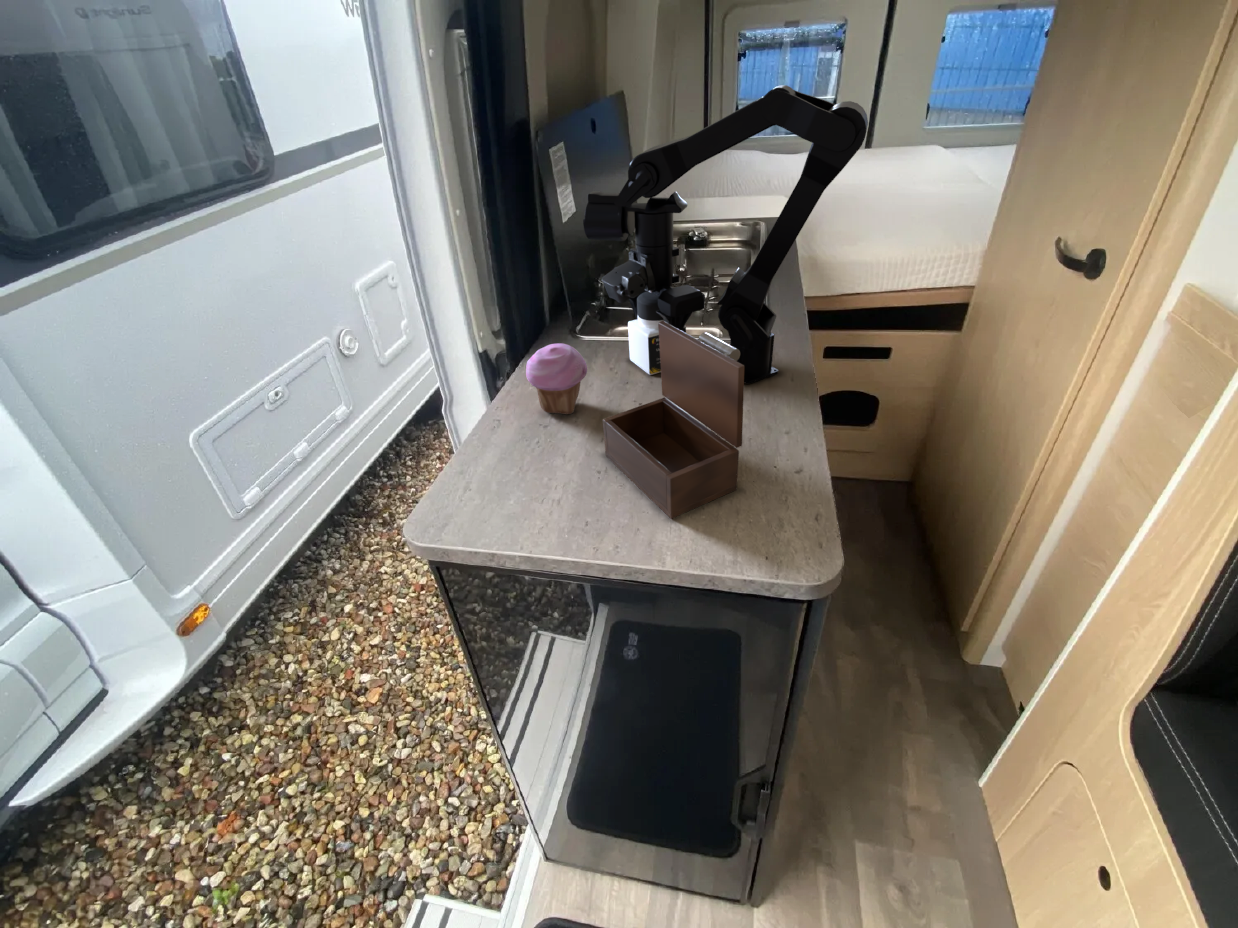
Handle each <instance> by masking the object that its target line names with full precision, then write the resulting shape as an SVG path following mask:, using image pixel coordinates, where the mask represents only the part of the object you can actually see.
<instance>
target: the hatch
mask: <svg viewBox="0 0 1238 928" xmlns="http://www.w3.org/2000/svg"><path fill="white" fill-rule="evenodd" d="M658 329H659V346H660V363H661V372H660V376H661V377H660V379H661V394H662V396H663V397H665V398H666V399H667V400H669V401H670V402H672V403H673V404H675V405H676V406H677V407H679V408H680V409H682V410H683V411H684V412H686V413H687V414H688V415H690V416H691V417H693V418H694V419H695V420H697V421H698V422H700V423H701V424H702V425H704V426H705V427H707V428H708V429H709V430H711V431H712V432H714V433H715V434H716V435H718V436H719V437H721V438H722V439H723V440H725V441H726V442H728V443H729V444H730V445H732V446H733V447H734V448H736V449H738V448H740V447H743V425H744V421H743V420H744V419H743V418H744V397H745V396H744V395H745V394H744V393H745V392H744V391H745V383H744V365H742V364H740V363H739V362H737V360H738V359H739V357H740V351H739V350H738V349H736V348H734V347H733V346H731V345H730V343H729V344H728V343H727V342H725V341H724V340H722V339H719V338H718V337H715V336H714V335H712V334H710V333H708V332H702V333H701V334H700V335H699V337H698V338H696V337H694V336H692V335H690V334H688V333H687V332H686V333H684V332H683V331H681V330H679V329H677V328H675V327H674V326H672V325H670V324H668V323H666V322H665V321H661V322H658Z"/></svg>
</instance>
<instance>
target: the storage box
mask: <svg viewBox="0 0 1238 928" xmlns="http://www.w3.org/2000/svg"><path fill="white" fill-rule="evenodd" d="M602 429H603V441H604V451H605V457H606V458H607V459H608V460H609V461H610V462H612V464H614V466H616V467H617V469H619V471H621V472H622V473H623V474H624V475H625V476H626V477H627V478H628V479H629V480H630V481H631V482H632V483H633V484H634V485H635V486H637V488H638V489H640V490H641V492H642V493H644V494H645V495H646V496H647V498H649V499H650V500H651V501H652V502H653V503H654V504H655V505H656V506H657V507H658V508H659V509H660V510H662V512H663V513H665V515H666V516H667V517H668V518H670V519H674V518H677V517H679V516H681V515H683V514H685V513H687V512H690V511H692V510H695V509H697V508H699V507H701V506H703V505H705V504H708V503H710V502H712V501H714V500H717V499H719V498H722V497H724V496H726V495H728V494H730V493H732V492H736V491H737V489H738V473H739V457H740V450H739V449H738V448H736V447H735V446H733V445H732V444H730V443H729V442H728V441H726V440H725V439H723V438H722V437H721V436H719V435H718V434H716V433H715V432H714V431H712V430H711V429H709V428H708V427H707V426H705V425H704V424H702V423H701V422H700V421H698V420H697V419H695V418H694V417H693V416H691V415H690V414H688V413H687V412H686V411H684V410H683V409H681V408H680V407H679V406H677V405H676V404H674V403H673V402H672V401H670V400H669V399H667V398H666V397H665V396H663V397H662V398H659V399H656V400H653V401H650V402H647V403H644V404H642V405H639V406H635V407H633V408H629V409H627V410H624V411H622V412H619V413H616V414H614V415H613V414H612V415H610V416H608V417H605V418H602Z"/></svg>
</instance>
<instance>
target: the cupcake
mask: <svg viewBox="0 0 1238 928" xmlns="http://www.w3.org/2000/svg"><path fill="white" fill-rule="evenodd" d="M525 366H526V367H525V376H526V379H527V381H528V382H529V384H531V386H532V387H534V388H535V389H536V392H537V397H538V401H539V402H538V403H539V405H540V408H541V410H543V412H545V413H549V414H563V415H572V414H573V413H574V412H575V407H576V403H577V400H578V397H579V394H580V389H581V381H582V380H584V378H586V376H587V374H588V366H587V362H586V360H585V359H584V357H583V355H582V354H581V353H580V352H579V351H578V350H577V349H576V348H575V347H573V346H572V345H569V344H567V343H560V342H559V343H551V344H548V345H545V346H544V347H542V348H539V349H538V350H536V351H535V352H534V354H532V355H531V357H530V358H529V359H528V360H527V362H526V365H525Z"/></svg>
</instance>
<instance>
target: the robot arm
mask: <svg viewBox="0 0 1238 928" xmlns="http://www.w3.org/2000/svg"><path fill="white" fill-rule="evenodd" d="M774 126H776V127H777V126H778V127H780V128H782V129H784V130H786V131H788V132H789V133H790V134H791V133H792V134H793V135H795V136H797V137H799V138H801V139H802V140H805V141H807V142H809V143H811V145H810V148H809V150H808V153H807V156H806V159H805V162H804V165H803V168H802V172H801V174H800V177H799V178H798V181H797V183H796V185H795V186H794V187H793V189H792V192H791V194H790V195H789V197H788V199H787V201H786V203H785V204H784V206H783V208H782V210H781V212H780V213H779V216H778V217H777V219H776V221H775V223H774V224H773V226H772V228H771V230H770V232H769V234H768V235H767V236H766V239H765V241H764V243H763V244H762V246H761V248H760V249H759V252H758V253H757V255H756V257H755V259H754V261H753V263H752V264H751V265H750V266H749V267H748V268H747V269H746V271H744V270H743V269H742V268H740V267H737V268H736V270H735V271H734V273H733V275H732V276H731V278H730V280H729V282H728V284H727V287H726V288H725V290H724V291H723V293H722V295H721V296H720V298H719V300H718V301H717V303H716V305H718V306H720V307H719V309H718V313H717V318H718V320H719V323H720V325H721V326H722V327H723V329H724V330H726V331H727V334H728V336H729V342H730V343H729V345H731V346H733V347H734V348H736V349H738V350H739V351H740V357H739V359H738V360H737V362H739V363H740V364H742V365H744V384H746V385H750V384H753V383H756V382H758V381H761V380H764V379H766V378H770V377H772V376H775V375H778V374H779V369H778V368H775V367H774V366H773V355H774V344H775V333H773V332H772V329H773V327H774V324H775V321H776V319H777V314H776V313H775V312H774V311H773V310H772V309H771V307H769V306H768V305H767V303H766V299H767V297H768V293H769V291H770V288H771V285H772V282H773V279H774V278H775V275H776V274H777V272H778V270H779V268H780V267H781V265H782V263H784V261H785V258H786V256H787V255H788V253H789V252H790V250H791V248H792V247H793V244H794V243H795V242H796V239H797V238H798V236H799V234H800V233H801V231H802V230H803V227H804V226H805V224H806V222H807V221H808V219H809V218H810V215H811V214H812V212H813V211H814V209H815V207H816V205H817V203H818V202H819V200H820V199H821V197H822V195H823V193H824V191H825V190H826V189H827V188H828V187H829V185H831V184H832V182H833V181H834V180H835V179H836V178H837V177H838V176H839V174H840V173H841V172H842V171H843V170H844V169H845V168H846V166H847V165H848V163H849V162H850V161H851V160H852V158H854V156H855V155H856V154H857V153H858V151H859V150H860V149H861V147H862V146H863V143H864V141H865V138H866V136H867V131H868V126H869V119H868V114H867V112H866V110H865V109H864V107H863V106H861V104H859V103H857V102H854V101H851V100H848V101H847V100H845V101H841V102H839V103H834V102H830V101H828V100H825V99H822V98H820V97H817V96H813V95H810V94H806V93H804V92H801V91H799V90H795V89H793V88H792V87H791V86H789V85H787V84H780V85H777V86H775V87H773V88H771V89H770V90H769V91H767V93H765V95H762V96H760V97H759V98H757V99H756V100H754V101H752V102H750V103H747V104H745V105H744V106H742V107H741V108H739V109H737V110H735V111H734V112H731V113H730V114H728V115H726V116H725V117H721V119H719V120H717V121H715V122H713V123H711V124H710V125H707V126H706V127H704V128H702V129H700V130H698V131H696V132H695V133H693V134H691V135H688V136H685V137H681V138H678V139H673V140H670V141H666V142H664V143H661V144H657V145H655V146H652V147H649V148H648V149H646V150H644V151H643V152H641V153H639V154H638V155H636V156H634V158H632V159H631V161H630V162H629V166H628V170H627V181H626V182H625V183H624V185H623V187H622V188H621V190H620V192H604V191H600V190H592V191H591V192H589V193H588V194H587V204H586V206H585V210H584V218H583V220H582V222H583V230H584V233H585V236H586V238H587V239H588V240H592V241H593V240H596V241H614V242H615V241H617V242H625V241H626V240H627V239H628V237H629V235H632V234H634V236H635V237H634V239H635V240H634V241H635V247H632V248H630V249H629V250H630V251H629V252H628V260H627V261H626V262H624V263H621V264H620V265H618V266H615V267H614V268H613V269H612V270H610V271H609V272H608V273H606V274H604V275H603V276H602V278H601V281H602V284H603V286H604V289H605V291H606V293H607V296H608V297H609V299H613V300H615V301H616V302H617V303H619V304H624V303H627V302H629V303H630V306H631V309H632V311H633V314H634V318H635V320H636V319H638V314H637V298H638V296H639V295H640V294H642V293H644V292H647V291H648V292H650V293H654V294H656V295H658V296H659V297H658V306H659V309H660V310H658V311H656V312H657V313H658V314H659V315H660V316H661V317H662V318H663V319H664V321H665V322H666V323H668V324H670V325H672V326H674V327H675V328H677V329H679V330H681V331H682V329H683V327H684V326H686V324H687V322H688V321H689V319H690V317H691V316H692V314H693V313H695V312H698V311H702V310H704V309H705V306H706V295H705V294H704V292H702V291H701V290H700V289H697V288H695V287H694V286H691V285H689V284H683V285H680V286H676V287H672V286H673V284H677V283H679V282H680V275H679V274H677V273H674V257H678V256H680V248H679V247H677V246H674V214H681V213H682V212H683V211H684V210H685V209H687V207H688V202H686V201H685V200H684V199H683V198H682V197H681V196H680V195H679V193H678V192H677V191H673V193H671V194H670V196H669V197H658V195H660V194H661V193H662V192H664V191H665V190H667V188H669V187H670V186H671V185H673V184H674V183H675V182H676V181H678V180H679V179H680V178H681V177H683V176H684V175H686V174H687V173H688V172H689V171H691V170H692V169H693V168H695V167H696V166H698V165H700V164H702V163H703V162H706V161H708V160H709V159H712V158H714V157H715V156H717V155H719V154H722V153H723V152H725V151H727V150H729V149H731V148H733V147H735V146H737V145H739V144H740V143H742V142H744V141H747V140H748V139H750V138H752V137H754V136H756V135H758V134H760V133H762V132H765V131H766V130H767V129H770V128H772V127H774ZM642 197H643V198H644V199H647V201H646V202H637V201H638V200H639V199H641V198H642Z"/></svg>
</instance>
